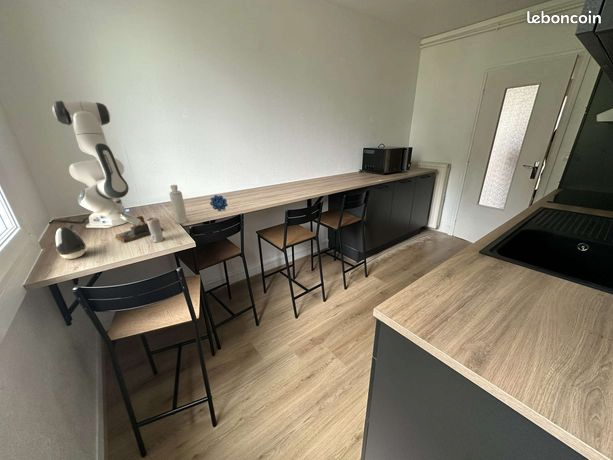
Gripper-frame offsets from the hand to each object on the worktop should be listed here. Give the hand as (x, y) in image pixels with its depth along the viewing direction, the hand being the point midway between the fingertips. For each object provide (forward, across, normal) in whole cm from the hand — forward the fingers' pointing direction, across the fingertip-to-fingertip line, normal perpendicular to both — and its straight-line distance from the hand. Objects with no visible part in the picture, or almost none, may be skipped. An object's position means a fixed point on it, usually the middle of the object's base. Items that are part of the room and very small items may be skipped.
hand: (140, 223), depth 142 cm
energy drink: (+4, -18, +4) cm, 19 cm away
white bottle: (+20, -1, -11) cm, 23 cm away
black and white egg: (-18, -3, +27) cm, 32 cm away
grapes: (+38, -5, -30) cm, 49 cm away
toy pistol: (+3, 0, +6) cm, 6 cm away
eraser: (+2, 0, +4) cm, 4 cm away
